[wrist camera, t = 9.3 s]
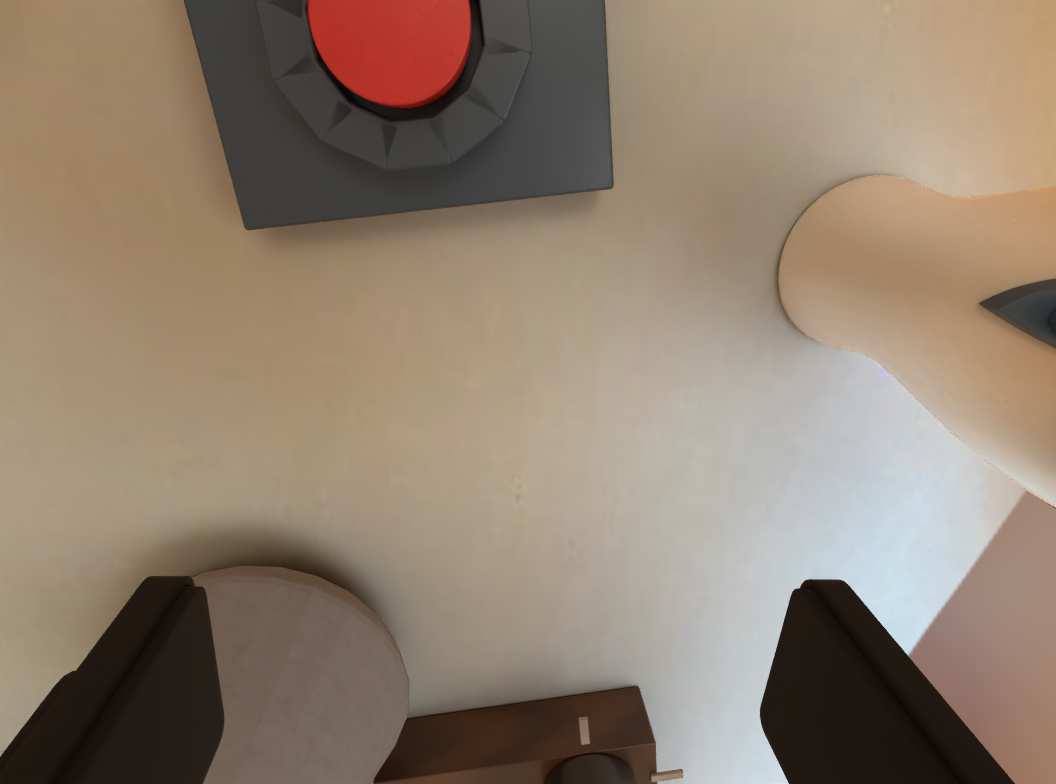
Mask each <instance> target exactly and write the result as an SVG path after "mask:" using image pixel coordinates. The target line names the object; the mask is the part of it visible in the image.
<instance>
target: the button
mask: <svg viewBox="0 0 1056 784" xmlns="http://www.w3.org/2000/svg"><path fill="white" fill-rule="evenodd" d="M308 17H309V23H310V28H311V32H312V36H313V39H314V42H315V44H316V47H317V49H318V51H319V53H320V55H321V57H322V59H323V61H324V62H325V64H326V65H327V66H328V68H329V69H330V71H331V72H332V73H333V74H334V75H335V77H336V78H337V79H338V80H339V81H340V82H342V83H343V84H344V85H345V86H346V87H347V88H349V89H350V90H351V91H353V92H354V93H356V94H358V95H359V96H361V97H363V98H365V99H368V100H370V101H373V102H375V103H378V104H381V105H384V106H388V107H392V108H401V109H405V108H415V107H421V106H423V105H426V104H429V103H431V102H433V101H435V100H437V99H438V98H440V97H441V96H443V95H444V94H445V93H446V92H447V91H448V90H449V89H450V88H451V87H452V86H453V85H454V84H455V82H456V81H457V80H458V78H459V77H460V75H461V73H462V71H463V69H464V67H465V65H466V62H467V59H468V55H469V51H470V45H471V10H470V4H469V0H308Z"/></svg>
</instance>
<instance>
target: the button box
mask: <svg viewBox="0 0 1056 784" xmlns="http://www.w3.org/2000/svg"><path fill="white" fill-rule="evenodd" d="M184 3H185V7H186V10H187V14H188V18H189V22H190V25H191V29H192V33H193V37H194V40H195V44H196V48H197V52H198V55H199V59H200V63H201V67H202V70H203V74H204V78H205V82H206V85H207V89H208V93H209V96H210V100H211V104H212V108H213V111H214V115H215V119H216V123H217V126H218V130H219V134H220V138H221V141H222V145H223V149H224V153H225V156H226V160H227V164H228V168H229V171H230V175H231V179H232V183H233V186H234V190H235V194H236V198H237V201H238V205H239V209H240V212H241V216H242V220H243V224H244V227H245V229H246V230H256V229H264V228H273V227H282V226H291V225H299V224H308V223H317V222H326V221H335V220H343V219H352V218H361V217H370V216H378V215H387V214H396V213H405V212H414V211H422V210H431V209H440V208H449V207H457V206H466V205H475V204H484V203H493V202H501V201H510V200H519V199H528V198H536V197H545V196H554V195H563V194H572V193H580V192H589V191H598V190H607V189H612V188H613V186H614V182H613V161H612V140H611V119H610V98H609V77H608V56H607V35H606V14H605V0H469V4H470V10H471V45H470V51H469V55H468V59H467V62H466V65H465V67H464V69H463V71H462V73H461V75H460V77H459V78H458V80H457V81H456V82H455V84H454V85H453V86H452V87H451V88H450V89H449V90H448V91H447V92H446V93H445V94H444V95H443V96H441V97H440V98H438V99H437V100H435V101H433V102H431V103H429V104H426V105H423V106H421V107H415V108H405V109H401V108H392V107H388V106H384V105H381V104H378V103H375V102H373V101H370V100H368V99H365V98H363V97H361V96H359V95H358V94H356V93H354V92H353V91H351V90H350V89H349V88H347V87H346V86H345V85H344V84H343V83H342V82H340V81H339V80H338V79H337V78H336V77H335V75H334V74H333V73H332V72H331V71H330V69H329V68H328V66H327V65H326V64H325V62H324V61H323V59H322V57H321V55H320V53H319V51H318V49H317V47H316V44H315V42H314V39H313V36H312V32H311V28H310V23H309V17H308V0H184Z"/></svg>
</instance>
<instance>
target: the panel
mask: <svg viewBox="0 0 1056 784" xmlns="http://www.w3.org/2000/svg"><path fill="white" fill-rule="evenodd" d="M590 754H601V755H608V756H612V757H615V758H617V759H619V760H621V761H623V762H624V763H625V764H627V765H628V766H629V768H630V769H631V770H632V772H633V774H634V777H635V781H636V784H657V781H664V780H671V779H677V778H683V770H682V769H678V770H672V771H665V772H658V773H657V766H656V742H655V738H654V735H653V732H652V728H651V725H650V722H649V718H648V715H647V712H646V708H645V705H644V702H643V698H642V695H641V692H640V688H639V687H633V688H626V689H619V690H611V691H604V692H597V693H590V694H583V695H576V696H569V697H562V698H555V699H548V700H541V701H534V702H527V703H520V704H513V705H506V706H499V707H492V708H485V709H478V710H470V711H463V712H456V713H449V714H442V715H435V716H428V717H421V718H414V719H407V720H406V721H405V723H404V725H403V728H402V730H401V733H400V735H399V737H398V740H397V742H396V745H395V747H394V748H393V750H392V751H391V753H390V754H389V756H388V757H387V759H386V760H385V762H384V764H383V765H382V767H381V768H380V770H379V771H378V773H377V774H376V776H375V778H374V783H373V784H545V783H546V780H547V778H548V777H549V775H550V774H551V773H552V772H553V770H555V769H556V768H557V767H558V766H559V765H561V764H562V763H564V762H566V761H568V760H570V759H573V758H576V757H579V756H583V755H590Z"/></svg>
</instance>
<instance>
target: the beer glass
mask: <svg viewBox="0 0 1056 784" xmlns="http://www.w3.org/2000/svg"><path fill="white" fill-rule="evenodd" d="M778 287H779V294H780V298H781V301H782V304H783V307H784V309H785V311H786V313H787V315H788V317H789V318H790V319H791V321H792V322H793V324H794V325H795V326H796V327H797V328H798V329H799V330H800V331H801V332H802V333H804V334H805V335H806V336H808V337H810V338H811V339H813V340H815V341H817V342H819V343H822V344H824V345H827V346H831V347H834V348H838V349H842V350H847V351H851V352H856V353H859V354H863V355H865V356H867V357H869V358H871V359H873V360H874V361H875V362H877V363H878V364H880V365H881V366H882V367H883V368H884V369H885V370H887V371H888V372H889V373H890V374H891V375H892V376H893V377H894V378H895V379H896V380H897V381H898V382H899V383H900V384H901V385H902V386H903V387H904V388H905V389H906V390H907V391H908V392H909V393H910V394H911V395H912V396H913V397H914V398H915V399H916V400H917V401H918V402H919V403H920V404H921V405H922V406H923V407H924V408H926V409H927V410H928V411H929V412H930V413H931V414H932V415H933V416H934V417H935V418H936V419H937V420H938V421H939V422H940V423H941V424H942V425H943V426H944V427H945V428H946V429H947V430H949V431H950V432H951V433H952V434H953V435H955V436H956V437H957V438H958V439H959V440H960V441H962V442H963V443H964V444H965V445H966V446H967V447H969V448H970V449H971V450H972V451H973V452H975V453H976V454H977V455H978V456H979V457H980V458H982V459H983V460H984V461H985V462H987V463H988V464H989V465H991V466H992V467H994V468H995V469H997V470H998V471H1000V472H1001V473H1002V474H1004V475H1005V476H1007V477H1008V478H1010V479H1011V480H1013V481H1014V482H1016V483H1017V484H1018V485H1020V486H1021V487H1023V488H1024V489H1026V490H1027V491H1029V492H1030V493H1032V494H1033V495H1035V496H1036V497H1038V498H1039V499H1041V500H1042V501H1044V502H1046V503H1048V504H1049V505H1051V506H1053V507H1054V508H1056V187H1049V188H1041V189H1032V190H1024V191H1017V192H1009V193H1001V194H993V195H982V196H971V197H963V196H951V195H946V194H942V193H940V192H937V191H935V190H933V189H930V188H928V187H926V186H924V185H921V184H919V183H917V182H914V181H911V180H908V179H905V178H902V177H897V176H890V175H871V176H865V177H860V178H857V179H853V180H850V181H848V182H845V183H843V184H841V185H839V186H837V187H835V188H833V189H831V190H830V191H828V192H827V193H825V194H824V195H822V196H821V197H820V198H818V199H817V200H816V201H815V202H814V203H813V204H812V205H811V206H810V207H809V208H808V209H807V210H806V211H805V212H804V213H803V214H802V216H801V217H800V218H799V220H798V221H797V222H796V224H795V225H794V227H793V229H792V231H791V232H790V234H789V236H788V238H787V241H786V243H785V245H784V248H783V251H782V254H781V258H780V263H779V270H778Z"/></svg>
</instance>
